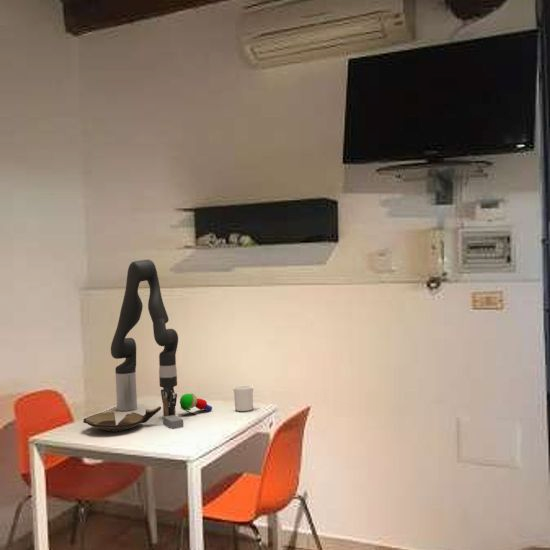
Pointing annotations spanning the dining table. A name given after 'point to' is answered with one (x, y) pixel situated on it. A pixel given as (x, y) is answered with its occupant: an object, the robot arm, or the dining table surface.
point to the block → (166, 407)
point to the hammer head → (173, 421)
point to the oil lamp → (130, 420)
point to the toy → (193, 403)
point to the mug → (243, 398)
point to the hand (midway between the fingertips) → (169, 414)
